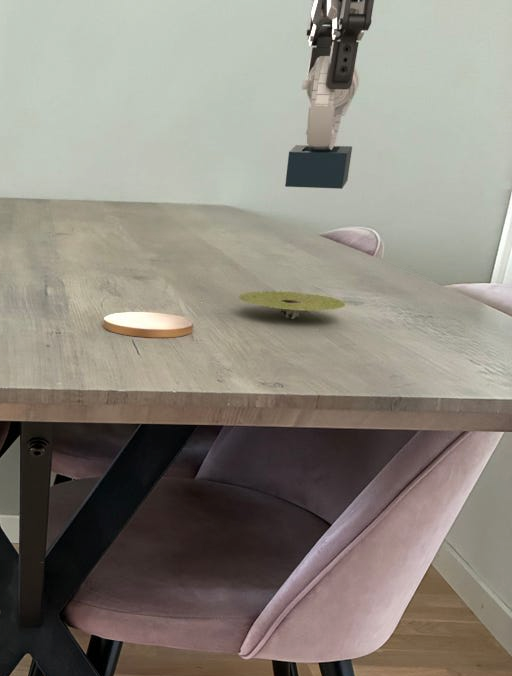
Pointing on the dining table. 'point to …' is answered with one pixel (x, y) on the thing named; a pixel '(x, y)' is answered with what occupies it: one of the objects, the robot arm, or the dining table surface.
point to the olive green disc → (292, 302)
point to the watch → (322, 134)
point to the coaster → (148, 324)
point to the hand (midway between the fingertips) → (326, 90)
